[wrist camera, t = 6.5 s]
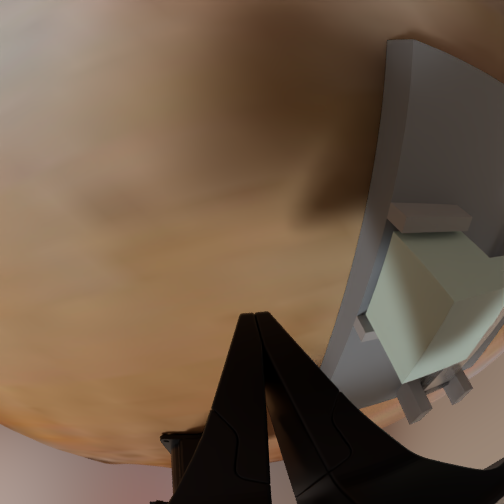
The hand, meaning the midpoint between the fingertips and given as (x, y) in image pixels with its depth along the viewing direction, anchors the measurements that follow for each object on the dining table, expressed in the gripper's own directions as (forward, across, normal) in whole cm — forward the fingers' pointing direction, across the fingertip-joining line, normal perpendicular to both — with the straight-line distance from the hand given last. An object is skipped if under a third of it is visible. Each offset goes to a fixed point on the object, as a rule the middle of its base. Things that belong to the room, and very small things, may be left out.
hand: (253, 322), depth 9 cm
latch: (+1, -8, 0) cm, 8 cm away
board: (+3, -13, +2) cm, 14 cm away
